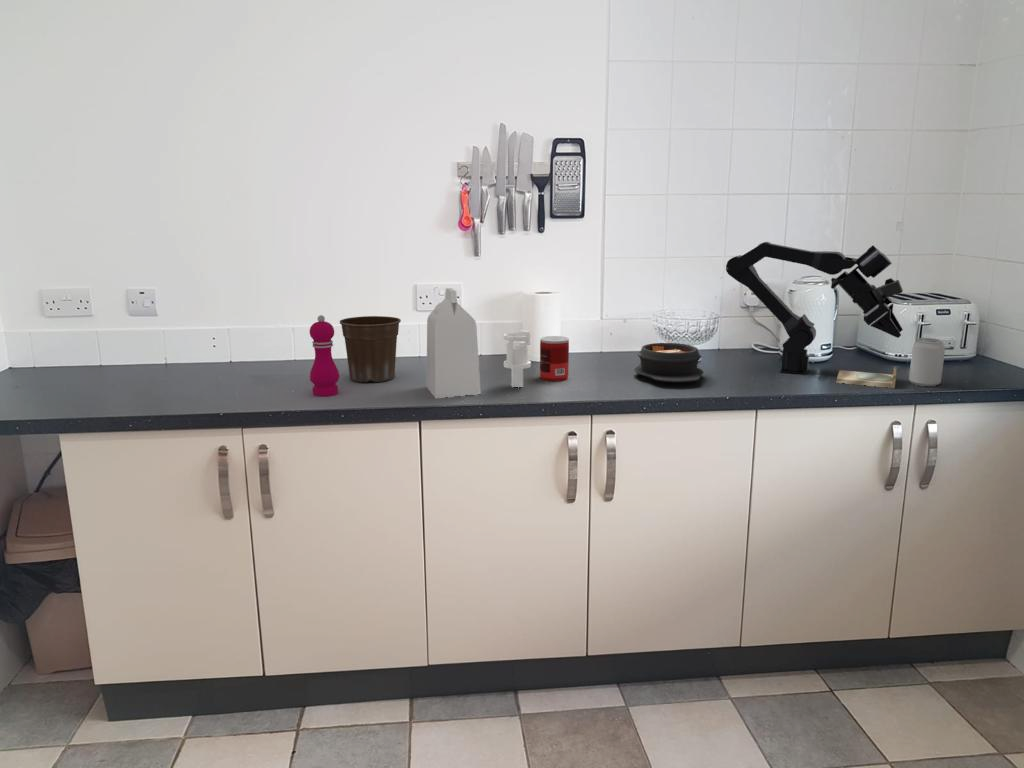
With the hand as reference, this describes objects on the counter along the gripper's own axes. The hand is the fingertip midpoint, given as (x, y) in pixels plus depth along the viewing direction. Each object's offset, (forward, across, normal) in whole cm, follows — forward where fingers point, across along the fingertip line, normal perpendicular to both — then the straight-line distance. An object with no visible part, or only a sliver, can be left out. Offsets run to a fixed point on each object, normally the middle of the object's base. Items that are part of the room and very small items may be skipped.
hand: (900, 333), depth 209 cm
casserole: (-30, -23, +48) cm, 61 cm away
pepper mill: (-81, -80, +99) cm, 151 cm away
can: (+14, 0, +4) cm, 15 cm away
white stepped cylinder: (-53, -51, +71) cm, 102 cm away
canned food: (-50, -38, +68) cm, 92 cm away
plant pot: (-81, -61, +99) cm, 141 cm away
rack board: (+4, -4, +14) cm, 15 cm away
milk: (-62, -63, +80) cm, 119 cm away
